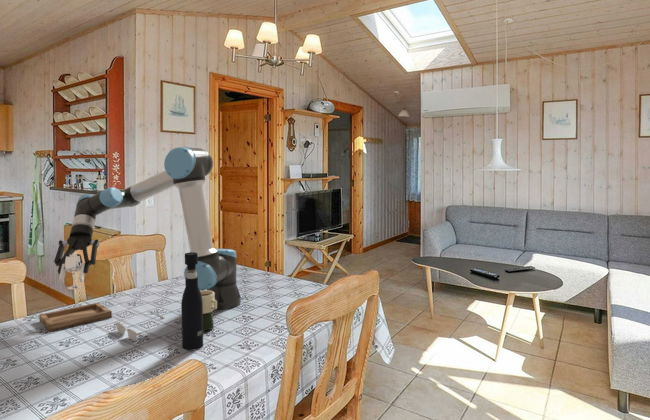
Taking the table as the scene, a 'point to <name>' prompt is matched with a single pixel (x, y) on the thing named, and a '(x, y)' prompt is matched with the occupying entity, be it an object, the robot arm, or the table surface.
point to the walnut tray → (74, 316)
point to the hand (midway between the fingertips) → (71, 280)
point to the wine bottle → (192, 307)
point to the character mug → (208, 308)
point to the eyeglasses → (132, 333)
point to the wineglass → (73, 266)
